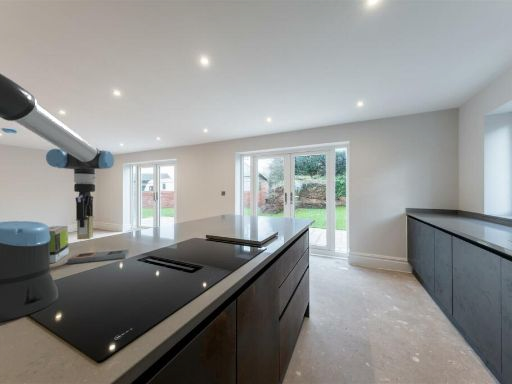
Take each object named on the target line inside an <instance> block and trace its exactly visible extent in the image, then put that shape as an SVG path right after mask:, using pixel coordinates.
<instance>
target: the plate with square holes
mask: <svg viewBox="0 0 512 384" xmlns="http://www.w3.org/2000/svg"><path fill="white" fill-rule="evenodd" d="M129 254H130V249H121V250H119V249H118V250H109V251H92V252H79V253H76V254H74V255H72V256H70V257H69V258H67V265H70V264H81V263H89V262H101V261H102V262H103V261H110V260H111V261H112V260H118V259H119V260H122V259H126V258H127V257H128V256H129Z"/></svg>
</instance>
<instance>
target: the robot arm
mask: <svg viewBox="0 0 512 384" xmlns="http://www.w3.org/2000/svg"><path fill="white" fill-rule="evenodd" d="M37 102H38V101H37V98H36V97H35V96H34V95H33V94H31V93H30V91H28V90H26V88H23V86H21V85H19V84H18V83H17V82H16V81H13V80H12V79H10V78H9V77H7V76H5V75H4V74H1V73H0V118H1V119H3V120H5V121H8V122H15V123H16V124H19V125H20V126H22V127H24V128H25V129H27V130H28V131H30V132H31V133H34V134H35V135H37V136H38V137H39V138H42V139H44V140H45V141H47V142H48V143H50V144H52V145H53V146H56V147H57V148H51V149H49V150H48V152H47V153H46V155H45V161H46V163H47V164H48V165H49V166H50V167H52V168H53V167H54V168H58V169H66V170H73V182H74V186H73V187H74V189H73V191H74V193H75V192H76V193H78V196H76V197H75V209H76V211H75V212H76V214H75V215H76V219H75V220H76V221H77V220H79V235H82V234H87V220H86V216H93V217H94V203H93V201H94V196H92V194H91V193H92V192H93V193H94V192H95V191H96V184H95V182H96V179H97V177H96V176H95V175H96V172H95V170H96V169H97V170H107V169H111V168H112V167H114V163H115V158H114V154H113V153H112V152H111V151H109V150H104V149H103V150H100V149H98V148H97V147H96V146H95V145H93V144H92V143H91V142H89V141H87V140H86V139H85V138H84V137H82V136H81V135H80V134H78V133H77V132H75V130H73V129H72V128H71V127H69V126H68V125H67V124H65V123H64V122H62V121H61V120H60V119H59V118H58V117H56V116H55V115H53V114H52V113H50V112H49V111H48V110H46V108H44V107H42V106H41V105H40V104H39V103H37ZM48 227H49V226H48V225H47V224H45V223H43V222H39V221H30V220H22V221H19V220H12V221H0V323H1V322H5V321H6V322H7V321H10V320H14V319H18V318H21V317H25V316H27V315H31V314H33V313H36V312H38V311H40V310H43V309H45V308H47V307H48V306H50V305H52V304H53V303H55V302H56V301H57V300H58V298H59V290H58V287H57V285H56V283H55V281H54V279H53V277H52V275H51V272H50V271H51V270H50V269H51V268H50V266H51V263H50V235H49V228H48Z"/></svg>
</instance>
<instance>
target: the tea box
mask: <svg viewBox="0 0 512 384" xmlns="http://www.w3.org/2000/svg"><path fill="white" fill-rule="evenodd" d="M48 228H49V235H50V264H53V263H54V264H55V263H57V262H59V261H60V260H61V259H63V258H64V257H65V256H67V255H68V254H69V252H70V251H69V226H68V225H56V226H54V225H53V226H48Z"/></svg>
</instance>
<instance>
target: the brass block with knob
mask: <svg viewBox="0 0 512 384" xmlns="http://www.w3.org/2000/svg"><path fill="white" fill-rule="evenodd" d="M86 220H87V234H82V235H79V220H76V221H77V222H76V223H77V224H76V230H77V235H76V239H77V240H78V241H79V240H90V239H92V238H93V237H94V215H93V216H86Z"/></svg>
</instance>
